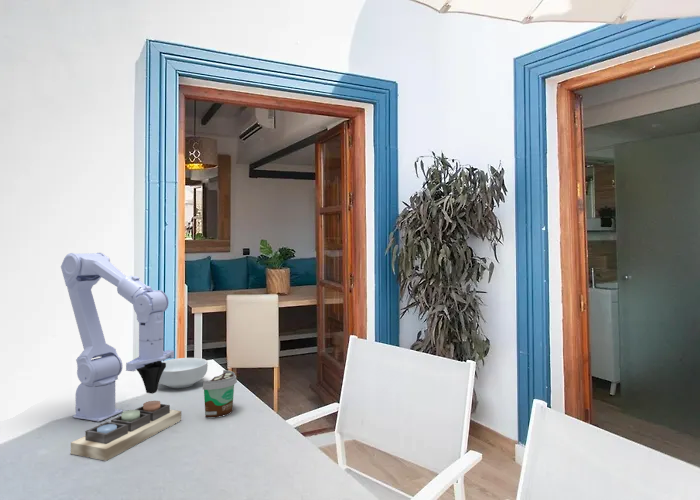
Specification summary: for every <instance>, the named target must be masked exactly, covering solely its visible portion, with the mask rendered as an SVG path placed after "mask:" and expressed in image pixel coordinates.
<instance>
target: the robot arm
mask: <svg viewBox="0 0 700 500" xmlns="http://www.w3.org/2000/svg"><path fill="white" fill-rule="evenodd" d="M60 269H61V272H62V276H63V280H64V284H65V287H66V288H67V292H68V296H69V299H70V300H69V301H70V303H71V307H72V311H73V315H74V318H75V322H76V325H77V329H78V332H79V335H80V339H81V344H82V347H83V350H82V352H81V353H80V354H79V356H78V357H77V358H76V359H75V361H76V365H77V367H76V368H77V371H76V375H77V378H78V380H79V382H80V384H79V385H78V386H77V387H76V391H75V414H72V418H75V419H81V420H87V421H92V422H99V423H100V422H102V421H105V420H107V419H109V418H112V417H114V416H116V415H118V414H122V413H123V412H124V410H123V409H121V408H120V409H119V408H116V381H117V380H119V379H118V378H119V377H118V376H120V374H121V373H122V371H123V362H122V359H121V357H120V356H119V355H118V352H117V349H116V348H115V347H114V346H111V345H109V344H108V343H106V339H105V335H104V331H103V328H102V325H101V321H100V317H99V314H98V311H97V310H98V309H97V306H96V303H95V299H94V296H93V293H92V289H93V287H94V285H97V284H98V282H99V281H100V280H101V279H104V280H105V281H107V282H109V283H110V284H112V285H114V286H115V287H116V290H117V293H118V295H120V296H121V297H122V298H124V299H125V300H126V301H128V302H129V303H131V304H132V307H133V310H134V313H135V314H136V320H137V323H138V357H136V358H134V359H132V360H130V361H128V362H126V364H125V371H127V372H136V371H137V373H138V374H139V375H140V378H141V380H142V382H143V385H144V389H145V392H146V394H152V395H153V394H155V393H157V391H158V387H159V384H160V383H159V380H160V377H161V375H162V373H163V371H164V369H165V367H166V363H162V362H163V361H166V360H170V359H175V358H174V357H175V350H170V349H168V350H164V312H166V311H167V309H168V307H169V298H168V296H167V294H166V293H165V291H163V290H161V289H159V290H158V289H157V290H155V289H153V288H152V286H150V285H147V284H145V283H144V282H143V281H141V280H140V277H139V276H137V275H134V276H133V275H129V276H127V275H125V273H123V271H121V270H120V269H118V268H117V266H115V264H113V263H112V262H111V259H110V257H109V256H107V255H105V254H104V253H102V252H95V253H89V252H88V253H74V252H70V253H68V254H66V255H65V257H64V258H63V260H62V263H61V266H60Z"/></svg>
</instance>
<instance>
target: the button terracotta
mask: <svg viewBox="0 0 700 500" xmlns="http://www.w3.org/2000/svg"><path fill="white" fill-rule="evenodd" d="M160 404H161V401H160V400H150V401H145V402H144V403H143V405H142V406H143V411H150V412H154V411H156V410H158V409H160Z"/></svg>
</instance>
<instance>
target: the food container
mask: <svg viewBox="0 0 700 500" xmlns="http://www.w3.org/2000/svg"><path fill="white" fill-rule="evenodd" d="M222 371H223V372H222V374H220V375H217V376H214V377H213V378H211V380H206V381H205V380H204V381H203V383H202V390H203V397H204V415H205V416H204V418H205V417H215V418H220V417H219V416H222V417H224V416H223V415H225V416H228V415H229V413H230V412H231V413H232V412H233V406H234V393H235V384H236V383H237V381H238V380H237V376H236V373H235V372H234V371H232V370H228V369H223V370H222ZM231 413H230V414H231ZM227 414H228V415H227Z"/></svg>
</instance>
